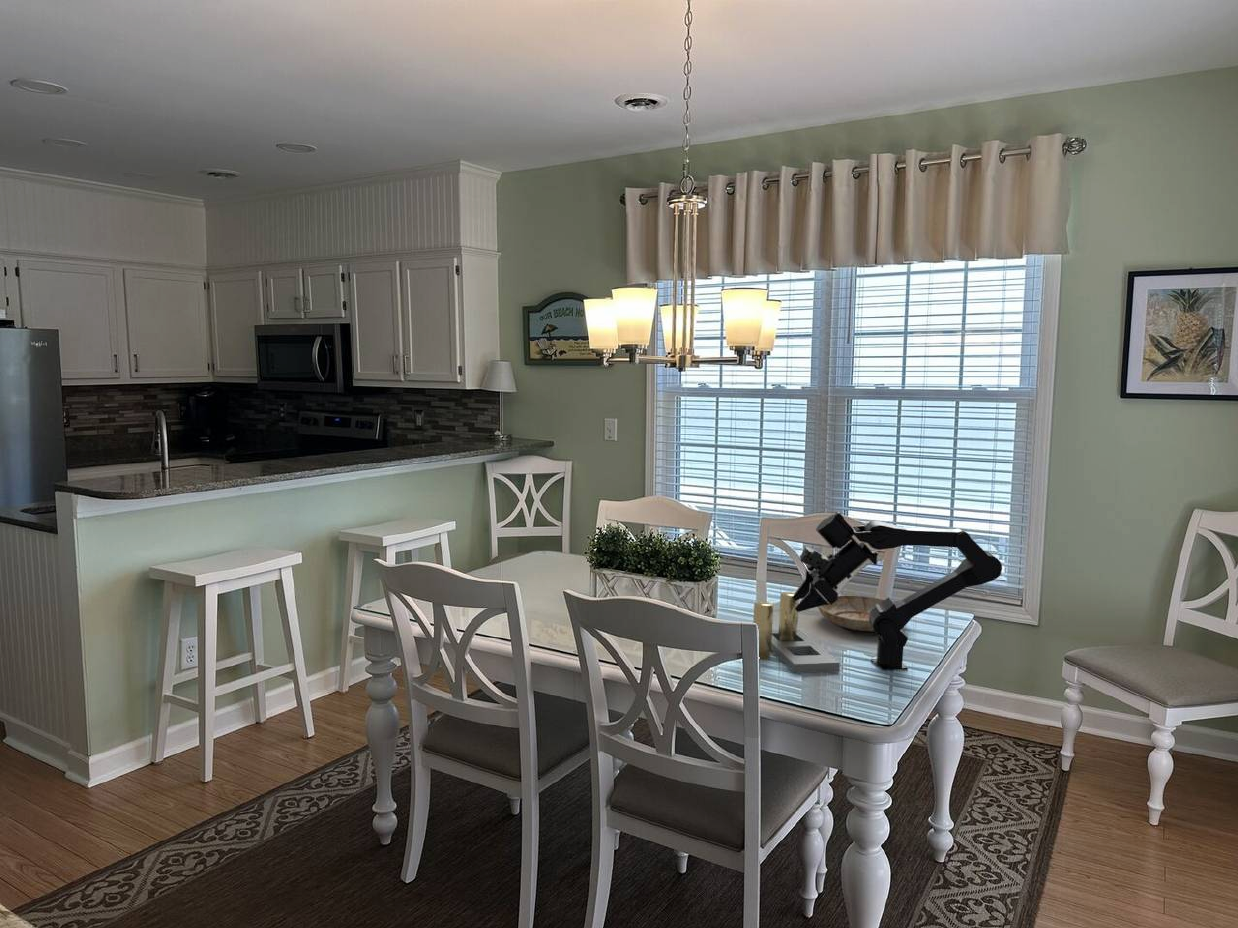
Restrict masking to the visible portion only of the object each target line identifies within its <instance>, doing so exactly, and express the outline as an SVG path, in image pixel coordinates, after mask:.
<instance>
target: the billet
mask: <svg viewBox="0 0 1238 928" xmlns="http://www.w3.org/2000/svg"><path fill="white" fill-rule="evenodd" d="M795 593H796V592H792V591H791V592H789V591H785V592H780V599H779V600H780V601H779V619H778V630H779V633H778V641H779V642H794V641H796V640H797V630H798V622H799V620H798V619H799V616H798V615H799V612H797V611H796V610H795V607H796V606H797V605H798V604H799V603H800V602H799V601H800V599H799V600H797V601H794V599H793V598H792V597H793V596H794V594H795Z"/></svg>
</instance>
